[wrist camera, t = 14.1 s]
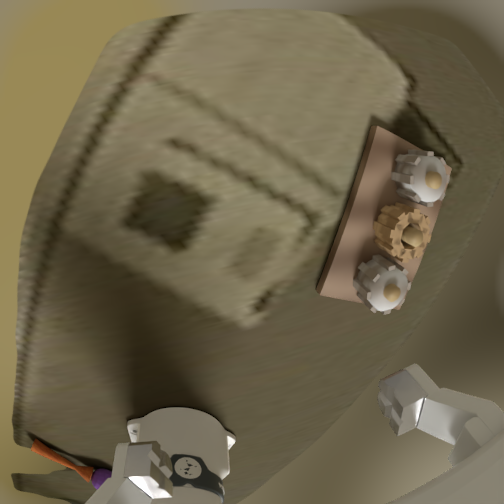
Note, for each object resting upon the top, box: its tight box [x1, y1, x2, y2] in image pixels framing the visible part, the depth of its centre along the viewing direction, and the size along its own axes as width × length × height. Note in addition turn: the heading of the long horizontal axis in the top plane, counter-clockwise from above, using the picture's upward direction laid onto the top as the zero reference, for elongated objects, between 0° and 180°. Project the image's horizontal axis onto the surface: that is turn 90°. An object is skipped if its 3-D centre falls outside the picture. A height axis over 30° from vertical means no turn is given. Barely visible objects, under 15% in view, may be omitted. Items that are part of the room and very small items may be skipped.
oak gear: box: [373, 202, 431, 263], centre depth 35 cm, size 7×7×4 cm
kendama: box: [31, 439, 112, 490], centre depth 43 cm, size 6×6×20 cm
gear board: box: [316, 126, 452, 315], centre depth 35 cm, size 22×14×6 cm, turn 163°
